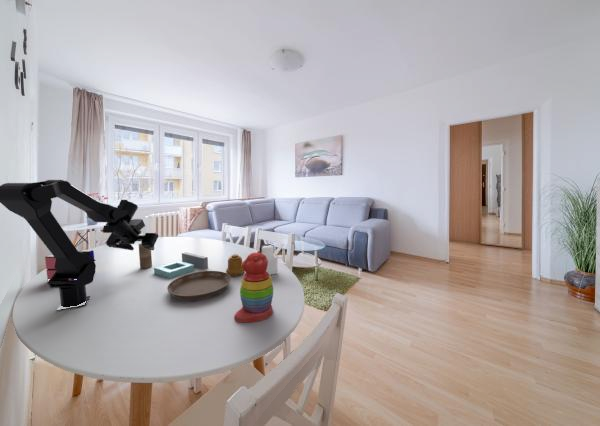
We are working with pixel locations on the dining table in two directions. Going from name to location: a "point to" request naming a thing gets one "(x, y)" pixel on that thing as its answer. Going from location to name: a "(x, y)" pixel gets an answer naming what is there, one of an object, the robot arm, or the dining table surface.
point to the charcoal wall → (195, 260)
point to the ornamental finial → (234, 266)
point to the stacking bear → (255, 290)
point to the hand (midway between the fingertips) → (143, 249)
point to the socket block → (173, 269)
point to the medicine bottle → (269, 258)
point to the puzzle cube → (51, 262)
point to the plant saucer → (199, 285)
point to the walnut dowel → (145, 257)
